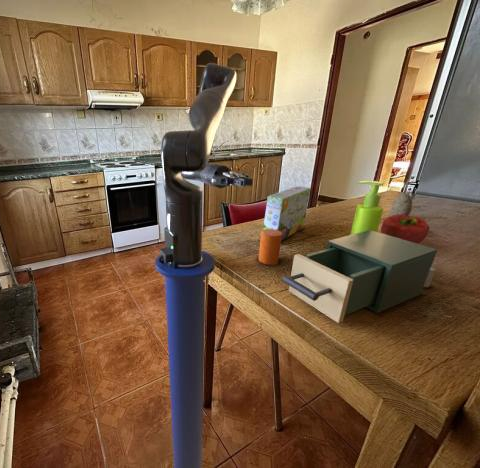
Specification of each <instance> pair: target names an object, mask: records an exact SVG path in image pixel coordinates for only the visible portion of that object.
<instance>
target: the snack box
mask: <svg viewBox="0 0 480 468" xmlns="http://www.w3.org/2000/svg"><path fill="white" fill-rule="evenodd" d="M311 190H312V188H311V187H305V186H297V185H295V186H293V187H290V188H287V189H285V190H282V191H278V192H276V193H272V194H269V195H267V197H266V208H265V214H264V221H263V229H262V230H264V229H275V230H279V231H281V232H282V239H281V241H283V240H285V239H287V238H288V237H290V236H292V235H294V234H295V233H298V232H299V231H300V230H302V229H304V227H305V220H306V215H307V210H308V205H309V199H310V194H311Z"/></svg>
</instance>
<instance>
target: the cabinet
mask: <svg viewBox="0 0 480 468" xmlns="http://www.w3.org/2000/svg"><path fill="white" fill-rule="evenodd" d="M333 247H336V248H339V249H341V250H344V251H346V252H349V253H351V254H354V255H357V256H359V257H362V258H364V259H367V260H370V261H372V262H375V263H377V264H380V265H382V266H385V267H386V271H385V274H384V277H383V280H382V283H381V287H380V290H379V293H378V296H377V300H376V303H374V304H371V305H369V306H366V307H365V308H367V309H368V310H371V311H372V312H374V313H376V314H379V313H381V312H383V311H386V310H388V309H390V308H393V307H395V306H397V305H399V304H402V303H404V302H406V301H408V300H411V299H413V298H416V297H418V296H420V295H421V294H422V291H423V289H424V287H423V286H424V284H425V281H426V278H427V276H428V273H429V271H430V268H432V265H433V263H434V260H435V257H436V254H437V252H438V249H437V248H434V247H430V246H427V245H423V244H421V243H420V244H417V243H413V242H410V241H406V240H403V239H399V238H396V237H393V236H389V235H386V234H382V233H381V232H378V231H377V232H375V231H372V230H368V231H365V232H361V233H357V234H353V235H350V234H349V235H345V236H341V237H338V238H334V239H330V240H327V242H326V246H325V249H329V248H333Z"/></svg>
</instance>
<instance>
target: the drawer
mask: <svg viewBox="0 0 480 468" xmlns="http://www.w3.org/2000/svg"><path fill="white" fill-rule="evenodd" d="M385 271H386V267H385V266H382V265H380V264H377V263H375V262H372V261H370V260H367V259H364V258H362V257H359V256H357V255H354V254H351V253H349V252H346V251H344V250H341V249H339V248H336V247H333V248H329V249H326V248H325V249H322V250H318V251H315V252H311V253H306V254H305V255H302V254H300V253H297V254H294V255H293V260H292V267H291V273H290V276H289V275H284V276H283V277H282V280H281V281H282V282H283V283H284V284H286V285H288V286H289V287H288V292H289V293H291V294H292V295H294V296H296V297H297V298H299V299H300V300H302V301H303V302H305V303H306V304H308V305H309V306H311V307H312V308H314V309H316V310H317V311H318V312H320V313H322V314H324V315H325V316H327V317H328V318H329V319H331V320H333V321H334V322H336V323H337V324H340V323H342V322H344V319H345V316H347V315H350V314H352V313H354V312H357V311H359V310H361V309H363V308H366V306H369V305H371V304H374V303H376V300H377V296H378V293H379V290H380V287H381V283H382V280H383V277H384V274H385Z"/></svg>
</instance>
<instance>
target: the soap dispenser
mask: <svg viewBox="0 0 480 468" xmlns="http://www.w3.org/2000/svg"><path fill="white" fill-rule="evenodd" d="M357 184H358V185H371V186H370V190H369V192H367V193H365V195H364V198H363V202H362V203H361V204H357V205H356V208H355V214H354V217H353V221H352V225H351V229H350V232H349V233H350V234H349V235H353V234H357V233H361V232H365V231H368V230H372V231H375V232H378V229H379V226H380V223H381V219H382V216H383V212H384V207H382V206H379V204H380V200H381V197H382V195H381V194H380V193H379V189H380V187H382V186H384V184H385V183H384V182H382V181H376V180H362V181H357Z"/></svg>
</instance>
